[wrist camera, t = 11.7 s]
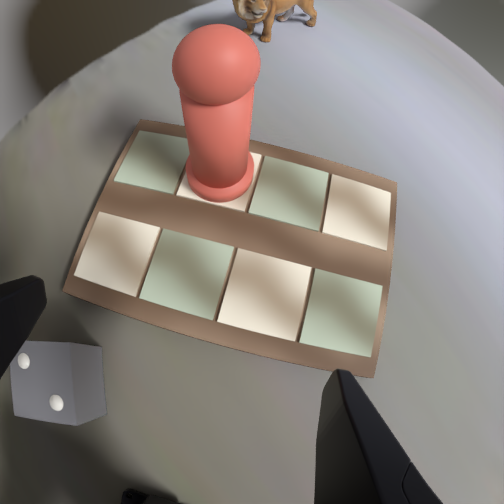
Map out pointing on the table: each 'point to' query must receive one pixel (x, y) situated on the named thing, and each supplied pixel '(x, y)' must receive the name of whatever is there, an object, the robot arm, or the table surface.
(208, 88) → the pawn
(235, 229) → the board
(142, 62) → the table surface
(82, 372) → the die
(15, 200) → the table surface
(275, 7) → the lion figurine
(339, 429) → the robot arm
